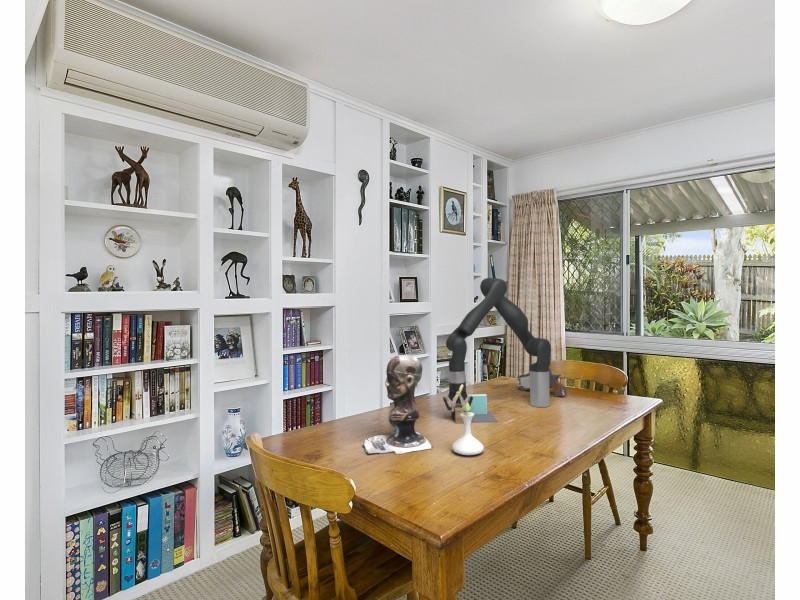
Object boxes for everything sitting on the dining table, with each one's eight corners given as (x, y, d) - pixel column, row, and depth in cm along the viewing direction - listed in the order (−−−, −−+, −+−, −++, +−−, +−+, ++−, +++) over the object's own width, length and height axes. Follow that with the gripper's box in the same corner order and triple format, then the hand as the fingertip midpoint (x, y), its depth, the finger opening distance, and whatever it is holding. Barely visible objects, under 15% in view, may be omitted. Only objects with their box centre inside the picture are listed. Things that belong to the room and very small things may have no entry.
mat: (460, 413, 210) (460, 412, 210) (490, 413, 210) (490, 412, 210) (465, 422, 196) (465, 421, 196) (497, 421, 196) (497, 420, 196)
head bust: (354, 438, 176) (361, 350, 176) (413, 436, 185) (420, 351, 185) (370, 458, 156) (378, 358, 156) (435, 455, 165) (443, 360, 165)
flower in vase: (462, 444, 169) (461, 378, 168) (489, 450, 161) (488, 381, 161) (443, 454, 158) (441, 384, 158) (471, 462, 151) (469, 388, 151)
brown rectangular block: (453, 417, 205) (452, 404, 205) (460, 416, 205) (460, 403, 205) (456, 423, 195) (455, 410, 195) (464, 423, 195) (463, 409, 195)
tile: (466, 413, 208) (466, 394, 207) (486, 413, 208) (485, 394, 207) (467, 415, 206) (467, 395, 206) (487, 414, 206) (486, 395, 206)
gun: (526, 400, 257) (519, 374, 260) (568, 394, 237) (560, 366, 240) (521, 401, 254) (514, 375, 257) (563, 395, 234) (555, 367, 237)
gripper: (471, 378, 203) (472, 416, 204) (440, 379, 203) (441, 417, 203) (474, 382, 196) (475, 421, 196) (442, 383, 196) (443, 422, 196)
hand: (458, 419), depth 200 cm, fingers closed on brown rectangular block, 3 cm apart
